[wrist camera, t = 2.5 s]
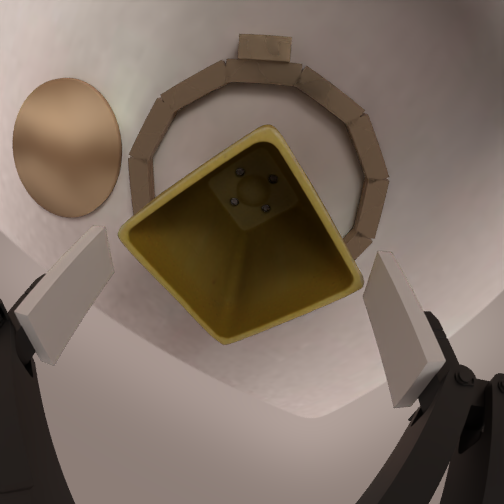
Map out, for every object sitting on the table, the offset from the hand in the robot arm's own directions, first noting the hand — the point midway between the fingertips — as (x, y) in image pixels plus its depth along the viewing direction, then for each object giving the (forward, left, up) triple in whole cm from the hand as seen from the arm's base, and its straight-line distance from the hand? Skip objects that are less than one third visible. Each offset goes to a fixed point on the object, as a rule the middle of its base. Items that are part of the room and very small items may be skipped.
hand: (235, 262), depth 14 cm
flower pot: (0, 0, -9) cm, 9 cm away
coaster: (-3, -16, -9) cm, 18 cm away
